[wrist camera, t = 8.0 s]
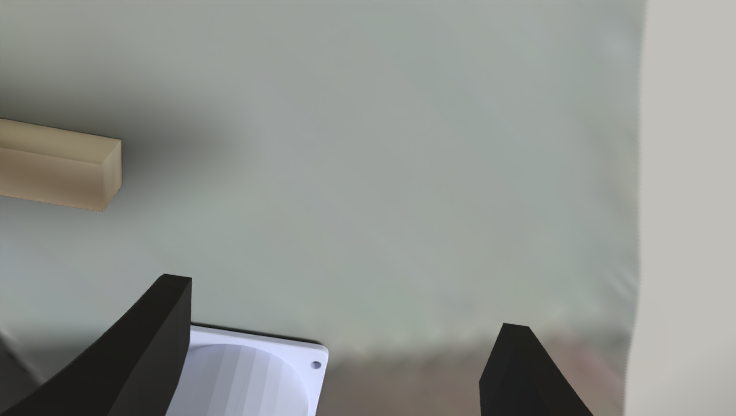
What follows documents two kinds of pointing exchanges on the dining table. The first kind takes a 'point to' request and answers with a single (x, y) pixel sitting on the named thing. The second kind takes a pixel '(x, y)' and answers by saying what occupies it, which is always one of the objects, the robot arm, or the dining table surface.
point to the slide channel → (58, 166)
